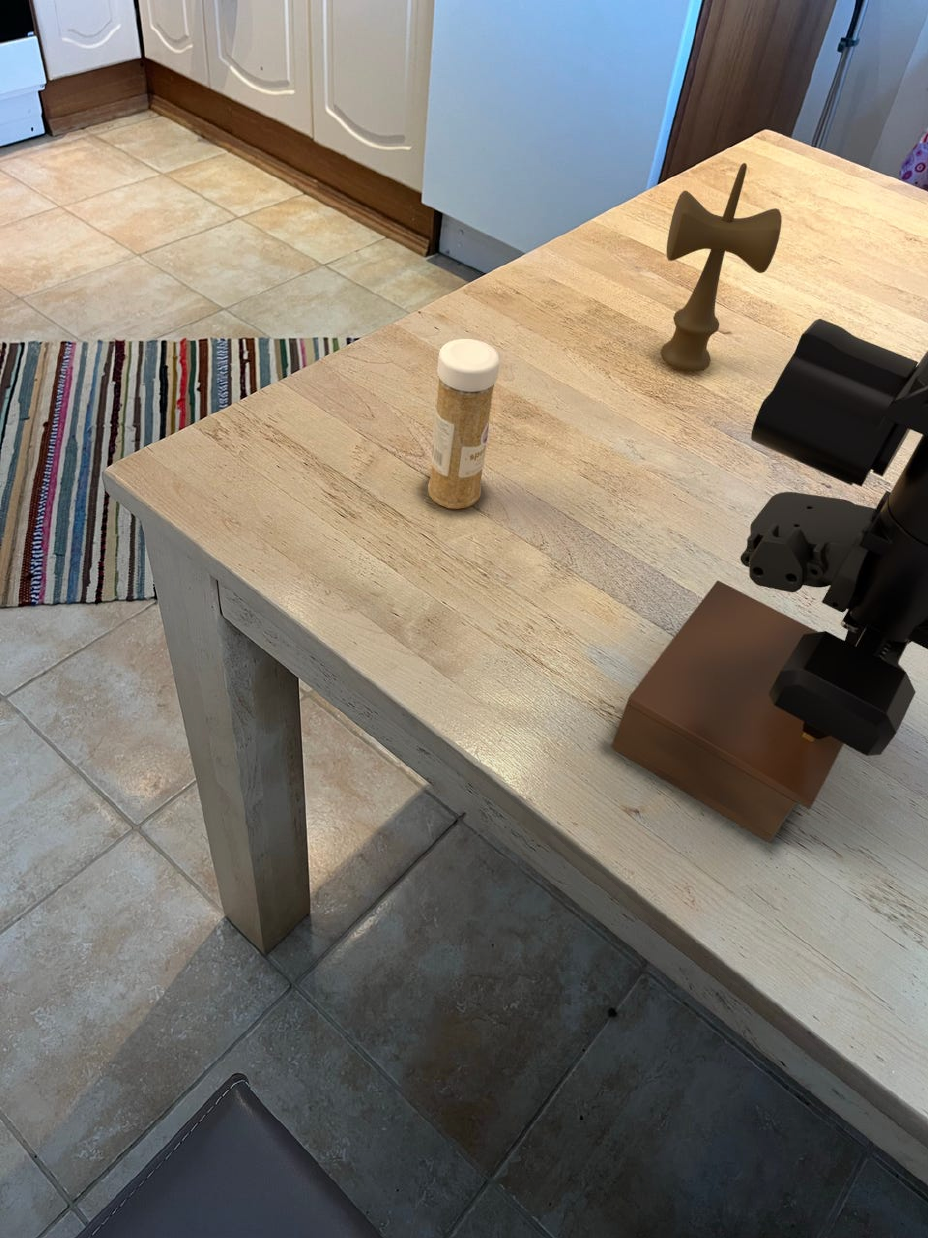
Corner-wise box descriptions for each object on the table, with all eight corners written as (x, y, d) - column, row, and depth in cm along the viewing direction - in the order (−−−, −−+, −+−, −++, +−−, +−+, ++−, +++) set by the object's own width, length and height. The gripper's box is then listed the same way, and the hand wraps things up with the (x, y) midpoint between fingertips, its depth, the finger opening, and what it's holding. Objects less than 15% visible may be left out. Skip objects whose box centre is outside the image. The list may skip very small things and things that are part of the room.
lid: (880, 671, 64) (909, 627, 61) (809, 810, 56) (838, 767, 53) (714, 586, 68) (734, 540, 65) (626, 703, 60) (643, 658, 57)
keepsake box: (840, 708, 68) (868, 666, 64) (769, 843, 60) (796, 803, 56) (696, 631, 72) (714, 587, 68) (610, 747, 64) (626, 704, 60)
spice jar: (481, 512, 78) (502, 372, 69) (426, 509, 78) (439, 368, 68) (479, 477, 82) (498, 337, 72) (426, 474, 81) (438, 333, 71)
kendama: (637, 339, 100) (689, 140, 85) (729, 354, 99) (796, 158, 84) (636, 370, 95) (690, 167, 81) (731, 386, 95) (802, 185, 80)
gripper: (853, 378, 56) (766, 565, 68) (725, 541, 45) (647, 732, 57) (1044, 457, 53) (917, 641, 64) (955, 656, 41) (822, 835, 53)
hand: (827, 704), depth 59 cm, fingers closed on lid, 5 cm apart
